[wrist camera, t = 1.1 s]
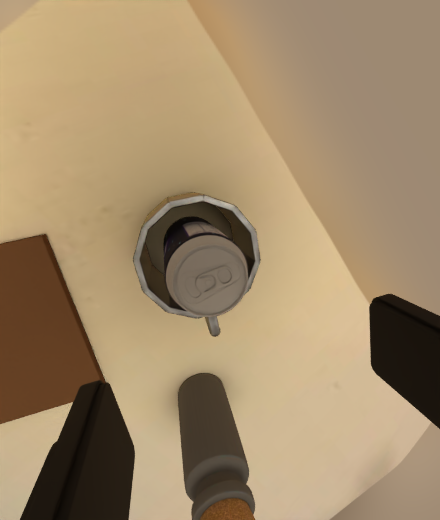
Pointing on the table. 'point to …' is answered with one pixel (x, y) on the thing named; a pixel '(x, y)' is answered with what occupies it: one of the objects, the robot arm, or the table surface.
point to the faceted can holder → (155, 280)
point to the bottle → (212, 452)
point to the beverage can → (203, 268)
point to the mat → (39, 333)
